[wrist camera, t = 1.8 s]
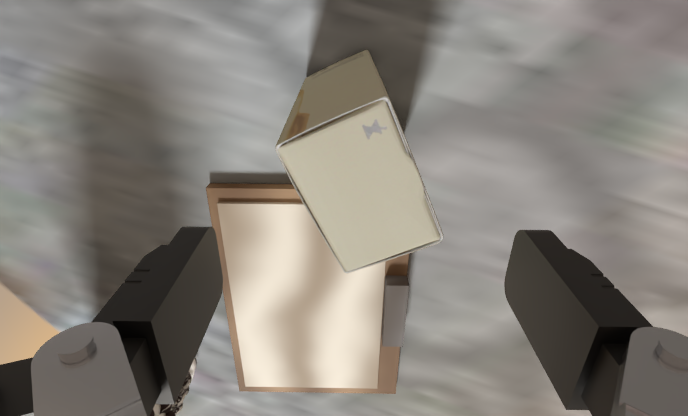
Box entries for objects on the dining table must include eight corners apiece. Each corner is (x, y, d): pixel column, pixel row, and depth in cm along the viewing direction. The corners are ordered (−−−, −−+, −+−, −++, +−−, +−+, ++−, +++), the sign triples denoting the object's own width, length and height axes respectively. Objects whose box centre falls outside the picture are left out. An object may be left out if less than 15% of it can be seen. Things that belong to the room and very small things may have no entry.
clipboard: (413, 185, 27) (417, 198, 26) (394, 386, 36) (396, 405, 35) (209, 183, 27) (199, 195, 26) (241, 383, 37) (236, 403, 35)
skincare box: (302, 77, 24) (264, 138, 13) (368, 46, 23) (385, 83, 12) (345, 168, 27) (342, 281, 16) (406, 143, 26) (447, 244, 15)
